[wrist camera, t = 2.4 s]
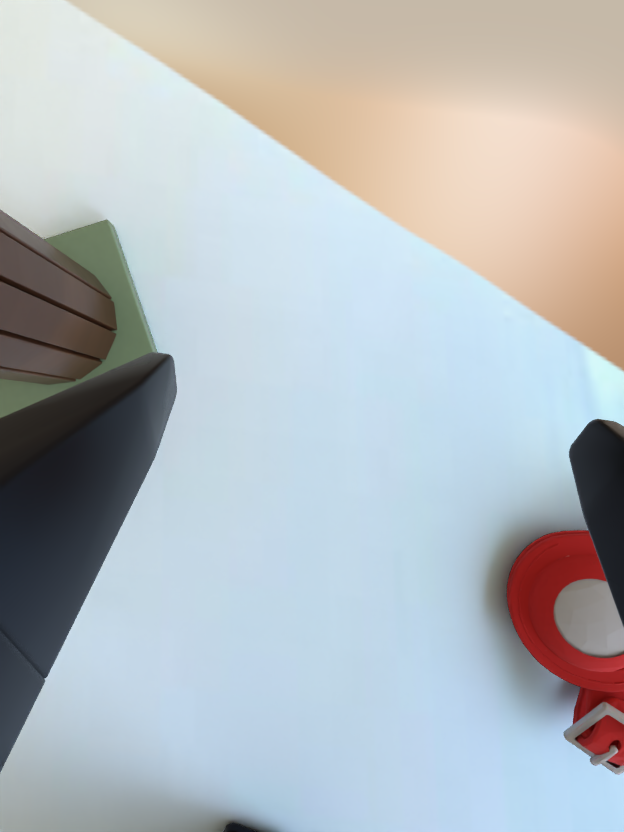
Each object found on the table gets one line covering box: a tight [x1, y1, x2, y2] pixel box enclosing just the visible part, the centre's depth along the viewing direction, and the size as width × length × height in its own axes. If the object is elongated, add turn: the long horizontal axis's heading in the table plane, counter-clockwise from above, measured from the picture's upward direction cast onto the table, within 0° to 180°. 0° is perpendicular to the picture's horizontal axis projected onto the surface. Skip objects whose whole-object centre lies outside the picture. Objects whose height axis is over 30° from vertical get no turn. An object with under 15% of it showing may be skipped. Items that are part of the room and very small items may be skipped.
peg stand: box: [0, 220, 157, 418], centre depth 20 cm, size 9×9×5 cm
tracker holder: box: [507, 530, 624, 775], centre depth 22 cm, size 12×4×10 cm
